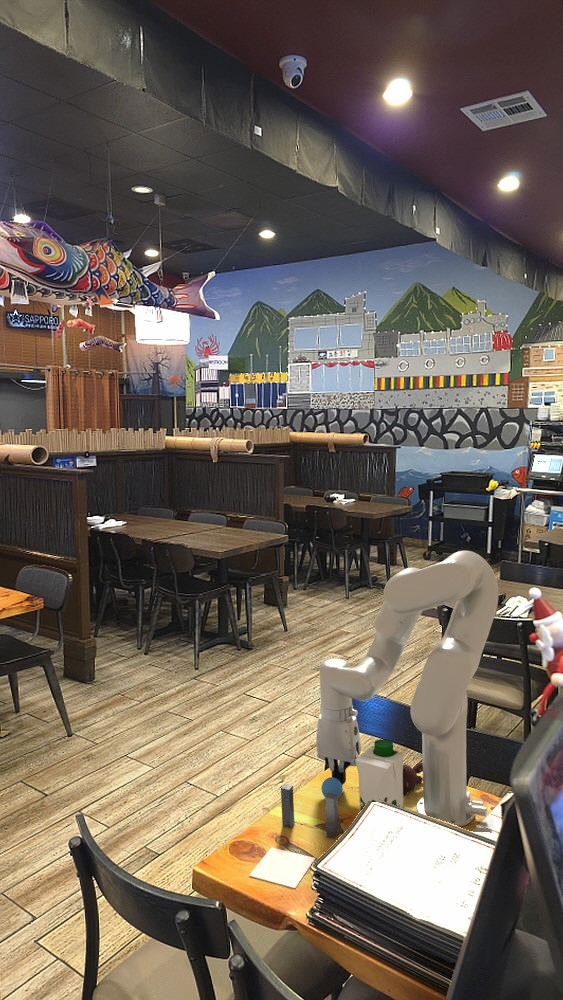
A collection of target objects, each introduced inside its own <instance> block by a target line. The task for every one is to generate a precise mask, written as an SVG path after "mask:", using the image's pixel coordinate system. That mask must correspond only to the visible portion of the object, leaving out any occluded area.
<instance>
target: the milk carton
mask: <svg viewBox="0 0 563 1000" xmlns="http://www.w3.org/2000/svg"><path fill="white" fill-rule="evenodd" d="M373 743H374V744H373V745H371V746H370V747H369V748H367V749H366V750H365V751H364V752H362V753H360V755H358V758H357V759H356V760H355V761H356V765H357V766H356V770H357V773H358V793H359V794H358V795H359V796H358V797H359V801H358V802H359V812H360V811H361V810H362V809H363V807H364V806H365V804H366V803H367V802H368V801H372V802H382V800H383V801H385V802H388V803H392V804H394V805H396V806H399V807H402V808H403V809H404V795H403V765H404V756H405V754H404V753H402V752H399V751H397V750H394V743H393V741H392V740H390V739H384V738H383V739H382V738H381V739H377V740H375V741H374V742H373ZM379 799H380V800H379Z"/></svg>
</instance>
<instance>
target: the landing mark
mask: <svg viewBox="0 0 563 1000" xmlns="http://www.w3.org/2000/svg"><path fill="white" fill-rule="evenodd" d="M315 860H316V857H313V856H307V855H304V854H302V853H301V854H300V853H297V852H296V853H295V852H291V851H288V850H284V849H281V848H276V847H270V848H269V850H268V851H267V852H266V853H265V855H264V856H263V857H262V858H261V860H260V861H259V862H258V863H257V864H256V866H255V867H254V868H253V869H252V871H251V872H250V874H249V875H248V876H249V877H251V878H254V879H257V880H262V881H265V882H269V883H272V884H276V885H280V886H283V887H287V888H291V889H294V890H295V889H296V888H297V886H298V885H300V882H301V881H302V879H303V878H304V877H305V875H306V874H307V872H308V870H309V869H310V868H311V866H312V865H313V863H314V862H315ZM311 864H312V865H311Z"/></svg>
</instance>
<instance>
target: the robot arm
mask: <svg viewBox="0 0 563 1000" xmlns="http://www.w3.org/2000/svg"><path fill="white" fill-rule="evenodd" d="M383 600H384V601H383V603H382V604H381V607H380V608H379V611H378V612H377V615H376V616H375V618H374V620H373V627H374V629H375V636H374V637H373V641H372V642H371V645H370V646H369V648H368V650H367V653H366V654H365V656H364V658H363V659H362V660H361V661H360V662H359V663H358V664H357V665H356V666H352V667H351V664H350V663H349V662H348V661H347V660H345V659H342V658H341V659H340V658H329V659H326V660H324V661H322V662H321V663H320V665H319V691H320V692H319V694H320V695H319V696H320V697H319V699H320V714H319V716H318V719H317V726H316V736H315V737H316V738H315V740H316V741H315V742H316V743H315V744H316V745H315V746H316V753H317V755H316V757H317V758H318V759H320V760H322V761H324V762H325V763H326V764H327V765H328V768H329V770H330V771H331V777H334V778H336V779H338V780H339V781H340V782H341V784H342V786H344V784H345V783H346V781H347V773H346V772H347V771H346V770H347V769H348V768H349V767H357V765H356V761H355V760H356V759H357V758H358V757H359V756H361V754H362V753H361V751H362V745H361V735H360V730H359V725H358V721H357V716H358V713H359V712H358V710H357V709H354V705H353V700H356V701H360V702H366V701H369V700H371V699H372V698H373V697H374V696H376V694H378V692H379V691H380V690H381V689H382V688H383V686H385V685H386V683H388V681H389V679H390V677H391V676H392V673H393V672H394V670H395V668H396V667H397V665H398V662H399V661H400V659H401V656H402V653H403V652H404V650H405V647H406V645H407V643H408V640H409V638H410V636H411V634H412V632H413V630H414V628H415V626H416V624H417V622H418V620H419V618H420V617H421V615H422V613H423V611H427V610H430V609H433V608H437V607H441V606H443V605H447V604H451V603H454V602H455V605H454V607H453V609H452V612H451V615H450V618H449V622H448V624H447V627H446V629H445V632H444V635H443V636H442V638H441V640H440V641H439V642H438V643H437V645H436V646H435V647H434V648H433V649H432V651H431V652H430V653H429V655H428V656H427V659H426V661H425V663H424V666H423V669H422V672H421V674H420V678H419V680H418V683H417V686H416V689H415V692H414V694H413V697H412V700H411V704H410V717H411V720H412V723H413V724H414V726H415V728H416V729H417V730H418V731H420V732H421V734H422V735H421V737H422V738H421V739H422V744H421V745H422V746H421V747H422V753H421V754H422V755H421V756H422V763H423V771H422V778H423V781H422V785H423V786H422V788H423V789H422V795H423V797H422V798H421V799H419V801H418V802H417V804H416V813H417V812H419V813H421V814H424V815H427V816H430V817H433V818H436V819H440V820H442V821H446V822H449V823H451V824H454V825H457V826H461V827H464V826H466V825H468V824H470V823H471V822H472V821H473V820H474V819H475V818H474V817H475V815H478V816H481V817H487V815H488V807H486V806H484V802H483V801H479V800H474V799H473V798H471V791H467V790H468V789H467V717H468V708H469V707H468V704H469V703H468V693H467V690H468V687H469V685H470V682H471V680H472V678H473V677H474V675H475V673H476V672H477V670H478V667H480V666H479V665H480V661H481V658H482V654H483V651H484V648H485V645H486V642H487V640H488V637H489V635H490V631H491V628H492V626H493V625H492V624H493V621H494V619H495V615H496V612H497V609H498V603H499V585H498V580H497V577H496V574H495V572H494V570H493V568H492V566H491V565H490V564H489V563H488V561H487V560H485V558H483V556H481V555H480V554H478V553H476V552H474V551H471V550H458V551H457V552H454V553H452V554H451V555H449V556H447V557H446V558H445V559H443V561H441V562H438V563H435V564H432V565H429V566H426V567H423V568H419V567H407V568H404V569H402V570H401V571H399V572H398V573H395V575H392V577H390V578H389V580H388V581H387V582H386V584H385V586H384V589H383Z"/></svg>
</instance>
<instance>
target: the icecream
mask: <svg viewBox="0 0 563 1000" xmlns="http://www.w3.org/2000/svg"><path fill="white" fill-rule="evenodd" d="M420 773H423V761H422V762H417V763H416V764H415V765H414V766H413V767H411V766H410V765H408V764H403V797H404V796H406V795H407V794H409V793H410V792H412V791H414V790H415V787H416V786H418V785H419V784H421V783H423V776H421V775H418V774H420Z"/></svg>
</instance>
